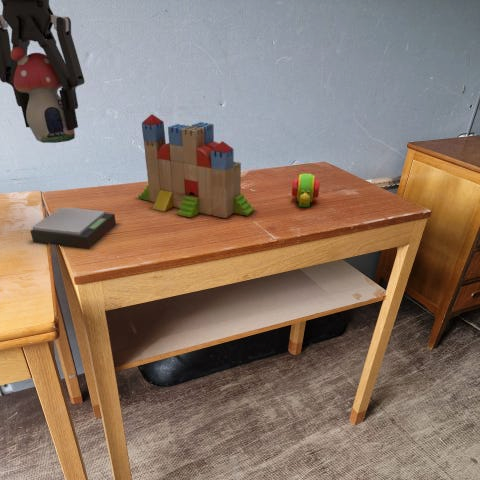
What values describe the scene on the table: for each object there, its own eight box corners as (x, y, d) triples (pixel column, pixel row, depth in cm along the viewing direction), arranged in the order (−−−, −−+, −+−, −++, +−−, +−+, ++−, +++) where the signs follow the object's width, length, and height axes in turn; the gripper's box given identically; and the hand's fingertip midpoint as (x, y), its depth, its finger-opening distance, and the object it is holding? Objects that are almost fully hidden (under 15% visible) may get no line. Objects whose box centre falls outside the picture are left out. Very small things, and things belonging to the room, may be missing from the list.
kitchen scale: (33, 242, 87) (29, 228, 86) (65, 219, 97) (62, 205, 95) (89, 248, 85) (86, 234, 84) (116, 224, 95) (114, 211, 93)
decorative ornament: (30, 145, 79) (6, 47, 71) (25, 137, 84) (1, 44, 75) (83, 140, 83) (66, 46, 74) (75, 132, 88) (58, 44, 79)
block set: (260, 207, 105) (264, 119, 93) (231, 228, 94) (232, 132, 83) (164, 186, 115) (157, 105, 104) (128, 203, 105) (116, 115, 94)
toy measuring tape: (289, 209, 104) (292, 181, 100) (294, 182, 119) (296, 157, 116) (317, 211, 103) (320, 183, 99) (318, 184, 119) (321, 159, 115)
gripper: (90, -28, 70) (112, 126, 84) (-23, -29, 73) (15, 119, 87) (66, -31, 64) (93, 135, 78) (-57, -32, 67) (-10, 128, 81)
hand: (52, 127), depth 82 cm, fingers closed on decorative ornament, 7 cm apart
